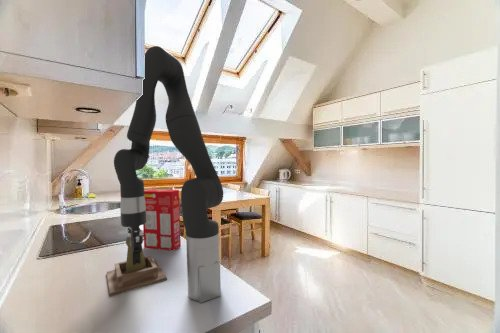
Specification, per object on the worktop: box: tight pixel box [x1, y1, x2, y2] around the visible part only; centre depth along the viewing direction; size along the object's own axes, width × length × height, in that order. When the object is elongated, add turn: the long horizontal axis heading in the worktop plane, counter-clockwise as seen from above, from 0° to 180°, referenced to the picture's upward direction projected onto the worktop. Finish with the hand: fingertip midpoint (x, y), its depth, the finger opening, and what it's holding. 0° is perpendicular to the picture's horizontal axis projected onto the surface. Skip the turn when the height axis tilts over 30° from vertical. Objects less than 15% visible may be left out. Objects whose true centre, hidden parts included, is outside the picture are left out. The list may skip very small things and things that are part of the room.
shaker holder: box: [106, 255, 168, 297], centre depth 81 cm, size 16×16×4 cm
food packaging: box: [142, 189, 182, 251], centre depth 107 cm, size 15×5×25 cm, turn 76°
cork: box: [125, 236, 146, 272], centre depth 81 cm, size 6×6×11 cm
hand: (135, 261), depth 81 cm, fingers closed on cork, 4 cm apart
